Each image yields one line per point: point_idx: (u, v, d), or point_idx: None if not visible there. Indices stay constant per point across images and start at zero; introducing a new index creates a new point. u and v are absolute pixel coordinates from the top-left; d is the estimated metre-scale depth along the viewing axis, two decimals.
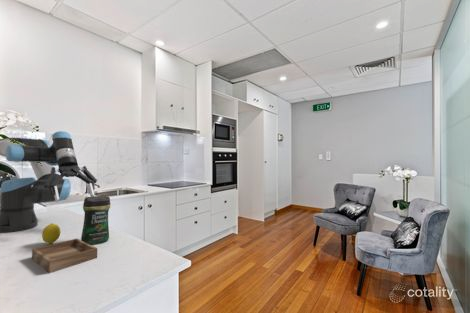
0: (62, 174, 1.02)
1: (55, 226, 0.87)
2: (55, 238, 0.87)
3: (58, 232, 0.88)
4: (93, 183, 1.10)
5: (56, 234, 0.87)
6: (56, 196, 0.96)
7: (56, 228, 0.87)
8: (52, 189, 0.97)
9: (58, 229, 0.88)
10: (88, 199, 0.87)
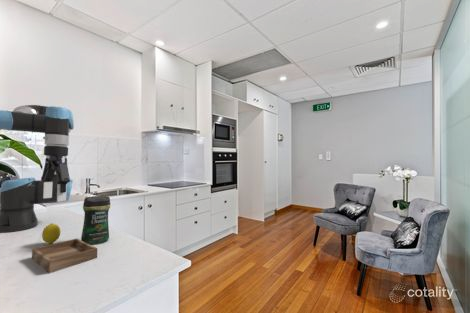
0: (47, 168, 0.89)
1: (55, 226, 0.87)
2: (55, 238, 0.87)
3: (58, 232, 0.88)
4: (61, 184, 0.84)
5: (56, 234, 0.87)
6: None
7: (56, 228, 0.87)
8: None
9: (58, 229, 0.88)
10: (88, 199, 0.87)
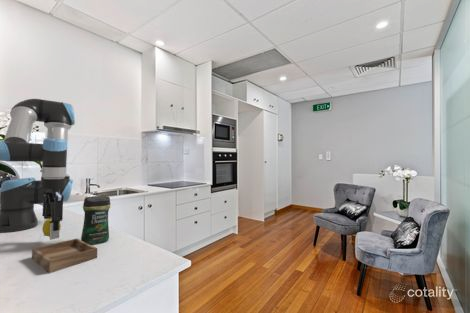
0: (45, 202, 0.88)
1: None
2: None
3: None
4: (54, 223, 0.85)
5: None
6: None
7: None
8: None
9: None
10: (88, 199, 0.87)
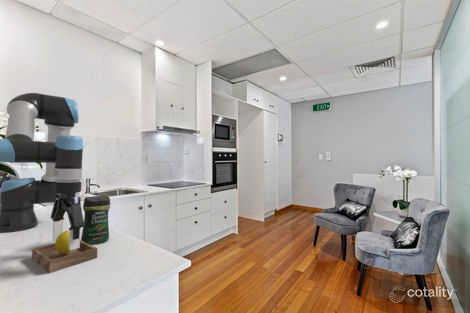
0: (57, 207, 0.76)
1: None
2: None
3: None
4: (74, 229, 0.70)
5: None
6: (53, 235, 0.78)
7: None
8: None
9: None
10: (88, 199, 0.87)
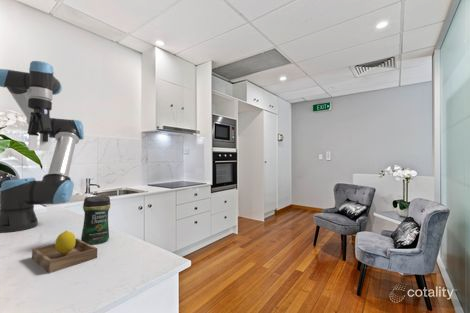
0: (31, 121, 0.94)
1: (70, 234, 0.75)
2: (70, 248, 0.74)
3: (73, 241, 0.75)
4: (43, 133, 0.88)
5: (71, 243, 0.74)
6: (29, 146, 0.96)
7: (71, 236, 0.75)
8: None
9: (73, 237, 0.76)
10: (88, 199, 0.87)
